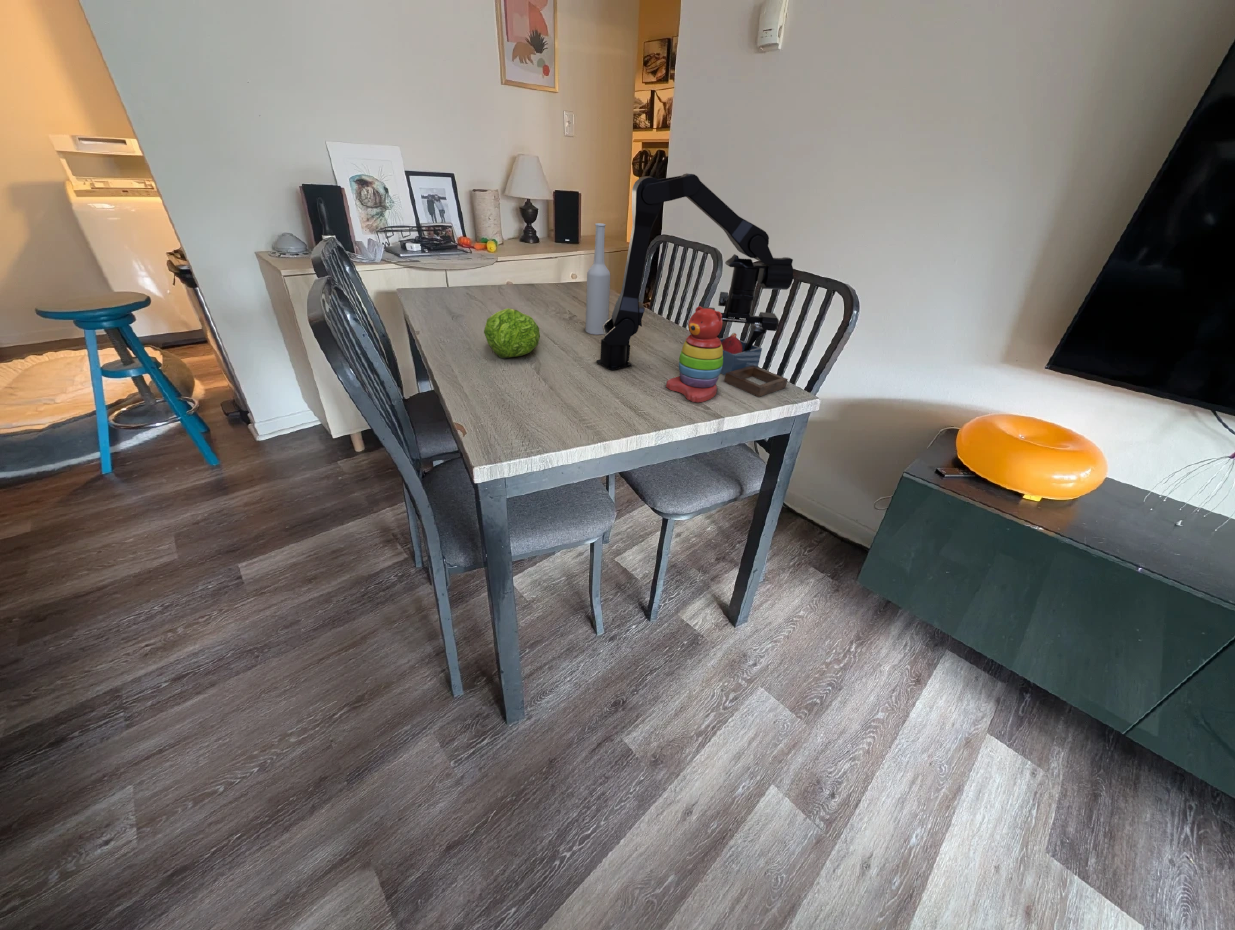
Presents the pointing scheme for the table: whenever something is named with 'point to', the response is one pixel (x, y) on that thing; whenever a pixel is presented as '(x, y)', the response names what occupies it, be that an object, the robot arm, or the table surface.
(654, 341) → the table surface
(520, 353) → the lettuce
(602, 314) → the bottle
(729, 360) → the blue open box
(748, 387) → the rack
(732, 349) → the red round fruit
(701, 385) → the stacking bear
